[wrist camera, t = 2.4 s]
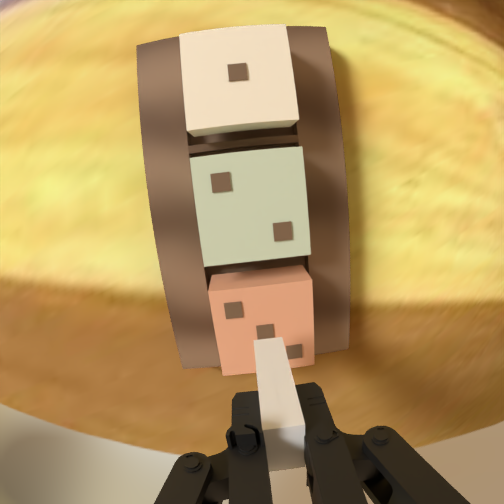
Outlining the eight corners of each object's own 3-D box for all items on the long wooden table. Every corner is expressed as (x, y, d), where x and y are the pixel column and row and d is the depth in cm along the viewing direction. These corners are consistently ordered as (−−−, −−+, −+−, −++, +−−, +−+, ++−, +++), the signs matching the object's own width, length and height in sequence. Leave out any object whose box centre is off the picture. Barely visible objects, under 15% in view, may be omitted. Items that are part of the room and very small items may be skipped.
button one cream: (186, 51, 17) (178, 33, 14) (279, 42, 17) (285, 23, 14) (194, 136, 18) (186, 130, 15) (290, 126, 19) (299, 119, 16)
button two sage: (196, 160, 19) (189, 158, 16) (292, 150, 19) (302, 146, 16) (208, 253, 20) (204, 267, 17) (300, 242, 20) (311, 255, 17)
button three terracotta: (212, 274, 21) (207, 292, 18) (302, 264, 21) (312, 280, 18) (224, 351, 22) (222, 376, 19) (305, 341, 22) (314, 365, 19)
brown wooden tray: (144, 55, 19) (136, 45, 17) (318, 38, 19) (325, 27, 17) (186, 353, 25) (183, 368, 23) (340, 335, 25) (348, 348, 23)
